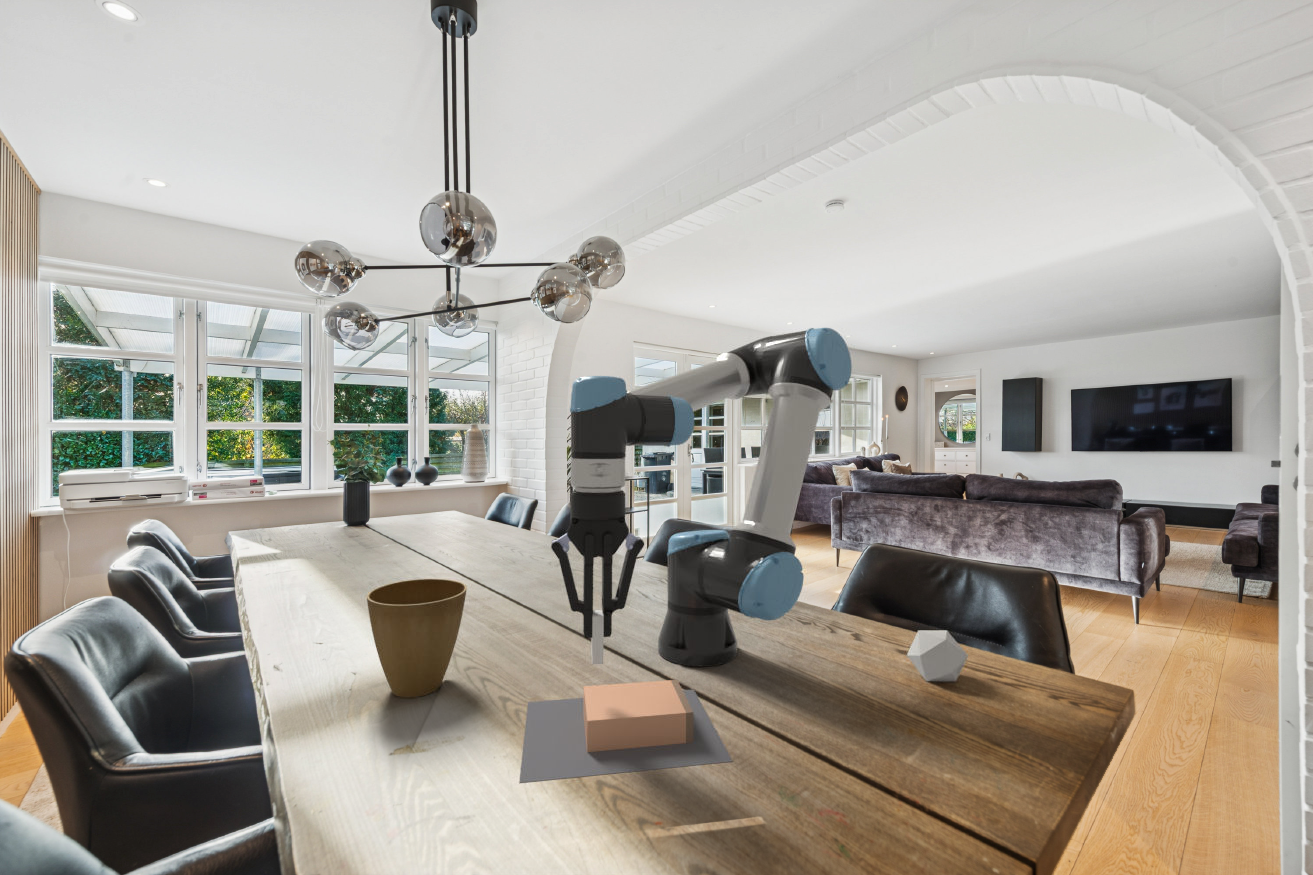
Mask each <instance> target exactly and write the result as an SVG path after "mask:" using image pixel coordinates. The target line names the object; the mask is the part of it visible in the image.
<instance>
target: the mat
mask: <svg viewBox="0 0 1313 875" xmlns="http://www.w3.org/2000/svg"><path fill="white" fill-rule="evenodd" d="M682 690H683V692H684V694H685V696H686V698H687V700H688V702H689V704H690V706H691V708H692V710H693V742H692V743H681V744H670V745H659V746H649V747H638V748H627V749H616V750H605V751H595V752H587V746H586V736H585V725H584V715H583V700H584V697H577V698H563V699H551V700H536V701H528V702H527V708H526V710H527V711H526V715H525V716H526V718H525V727H524V736H523V737H524V738H523V745H522V746H523V747H522V756H521V762H520V774H519V784H526V783H534V782H535V783H537V782H543V781H545V782H546V781H553V780H564V779H574V778H576V779H577V778H585V777H594V776H595V777H596V776H603V775H615V774H625V773H633V772H642V771H643V772H644V771H652V770H653V771H654V770H665V769H673V768H682V767H683V768H684V767H692V766H693V767H695V766H703V765H712V764H713V765H715V764H722V763H732V762H734V761H733V758H732V757H731V756H730V753H729V752H728V750H727V748H726V746H725V744H724V743H723V740H722V739H721V737H720V735H719V733H718V731H717V730H716V728H715V726H714V724H713V722H712V720H711V718H710V717H709V715H708V713H707V711H706V710H705V707H704V706H703V704H702V702H701V700H700V699H699V697H698V695H697V693H696V691H695V689H682Z"/></svg>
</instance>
